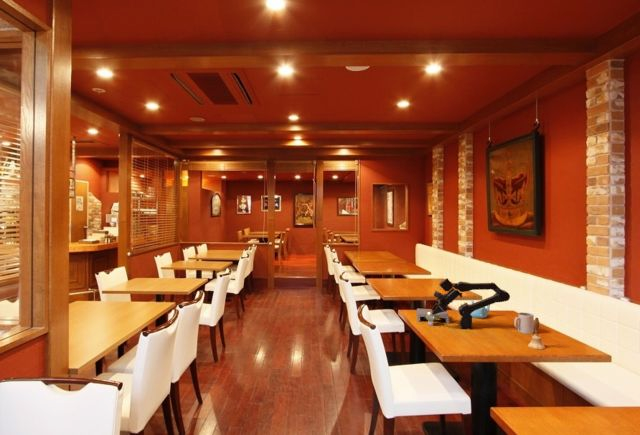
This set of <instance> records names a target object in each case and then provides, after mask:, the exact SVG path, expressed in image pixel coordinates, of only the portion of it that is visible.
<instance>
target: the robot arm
mask: <svg viewBox="0 0 640 435" xmlns="http://www.w3.org/2000/svg"><path fill="white" fill-rule="evenodd" d="M438 285H439V287H440V288H442V290H443V291H444V292H446V293H444V294H443V293H441V292H439V291H437V290H434V293H433V297H434V298H436V300H435V301H436V303H435V304H434V306H433V307H432V310H434V311H433V313H432V314H433V315H434V314H437V313H441V312H444V311H448V306H449V305H450V304H451V303H454V301H455V300H456V299H457V297H460V299H461V298H463V293H464V292H465V293H466V292H470V291H477V290H484V291H486V290H487V291H488V290H492V291H493V292H494V294H493V295H491V296H489V297H486V298H484V299H481V300H478V301H475V302H474V303H473V304H472V303H469V304H468V302H464V303H463V304H460V306H458V309H457V310H458V311H457V312H458V314H459V315H460V316H461V317H460V319H459V326H460V327H461V329H463V330H465V329H466V330H473V329H474V328H473V317H472V315H471V313H472V312H473V311H475V310H478V309H480V308H483V307H485V308H486V307H487V306H488V305H490V306H491V305H493V304H496V303H503V302H507V301H509V300H510V299H511V295H510V293H509V292H508V291H507V290H505V289H501V288H500V287H499V286H498V285H497V284H496V283H495V282H475V283H474V282H467V281H458V282H456V283H452V282H451V281H450V280H449V279H448V277H447V278H445V279H444V280H441V282H440V283H438Z"/></svg>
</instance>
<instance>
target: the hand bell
mask: <svg viewBox="0 0 640 435" xmlns="http://www.w3.org/2000/svg"><path fill="white" fill-rule="evenodd" d="M539 327H540V320H539V317H535V318H534V335H532V336H531V340H530V342H529V343H528V344H527V346H528V347H529V348H531V349H535V350H545V349H546V347H545V345H544V344H543V341H542V337H541V336H540V335H539Z"/></svg>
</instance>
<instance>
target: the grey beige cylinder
mask: <svg viewBox="0 0 640 435" xmlns="http://www.w3.org/2000/svg"><path fill="white" fill-rule="evenodd" d="M433 311H434V310H426V317H425V319H426V320H427V325H428V326H430V327H431V326H432V327H433V326H434V324H435V323H434V321H436V320H437V318H436V314H434V315H433V314H432V313H433Z"/></svg>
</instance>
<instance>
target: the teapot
mask: <svg viewBox="0 0 640 435" xmlns="http://www.w3.org/2000/svg"><path fill="white" fill-rule="evenodd" d="M470 301H471V304H473V303H475V301H474V300H473V299H470ZM490 306H491V305H488V306H485V307H483V308H480V309H478V310H475V311H473V312H472V313H471V315H472V318H475V319H485V318H487V316H488V314H489V312H490Z"/></svg>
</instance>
